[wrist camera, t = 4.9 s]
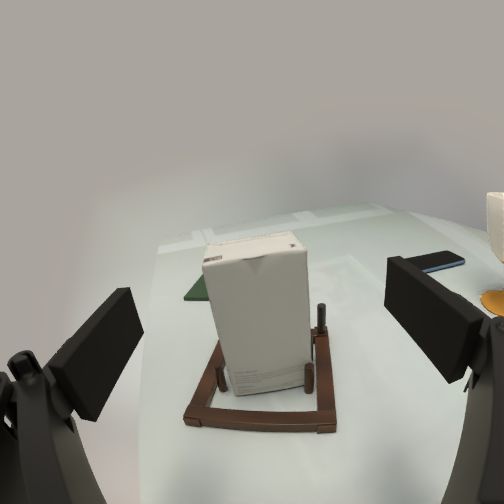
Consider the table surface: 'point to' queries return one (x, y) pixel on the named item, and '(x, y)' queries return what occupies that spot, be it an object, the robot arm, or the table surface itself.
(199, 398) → the rack
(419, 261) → the smartphone
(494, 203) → the cup
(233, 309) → the cosmetic box
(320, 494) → the table surface
